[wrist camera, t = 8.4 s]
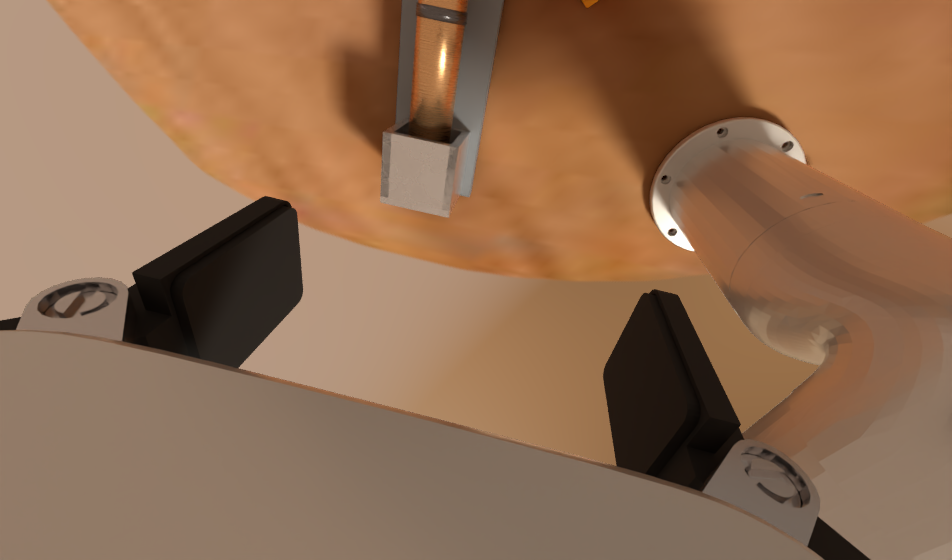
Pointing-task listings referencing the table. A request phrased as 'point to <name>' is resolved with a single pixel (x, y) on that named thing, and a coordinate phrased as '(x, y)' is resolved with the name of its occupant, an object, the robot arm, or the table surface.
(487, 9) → the board
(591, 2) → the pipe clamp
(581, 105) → the table surface
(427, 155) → the sleeve
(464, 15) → the tube
